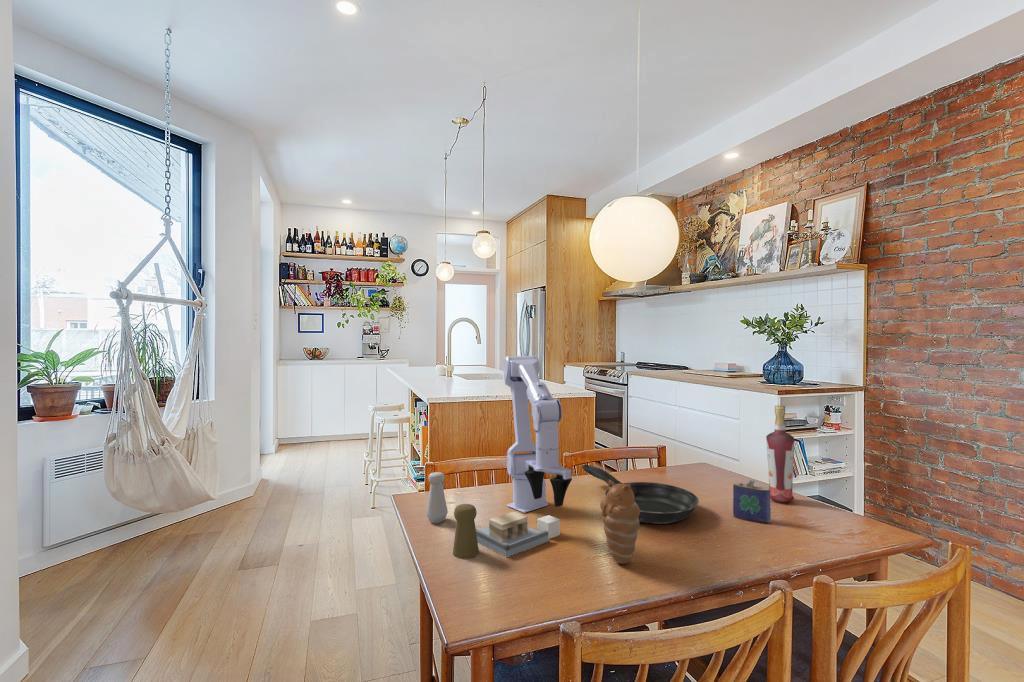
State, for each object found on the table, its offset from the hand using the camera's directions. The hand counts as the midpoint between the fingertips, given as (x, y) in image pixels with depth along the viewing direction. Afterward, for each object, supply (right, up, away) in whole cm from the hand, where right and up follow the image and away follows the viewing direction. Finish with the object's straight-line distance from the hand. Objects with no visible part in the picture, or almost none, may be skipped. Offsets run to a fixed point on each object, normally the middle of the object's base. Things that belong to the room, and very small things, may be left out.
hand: (548, 501), depth 125 cm
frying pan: (+26, -8, +20) cm, 34 cm away
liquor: (+70, -7, +22) cm, 74 cm away
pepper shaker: (-20, -9, -9) cm, 24 cm away
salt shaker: (-29, -9, +11) cm, 33 cm away
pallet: (-10, -7, -3) cm, 12 cm away
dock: (-10, -8, -3) cm, 13 cm away
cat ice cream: (+15, -8, -16) cm, 24 cm away
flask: (+55, -8, +8) cm, 56 cm away
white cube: (0, -8, 0) cm, 8 cm away
